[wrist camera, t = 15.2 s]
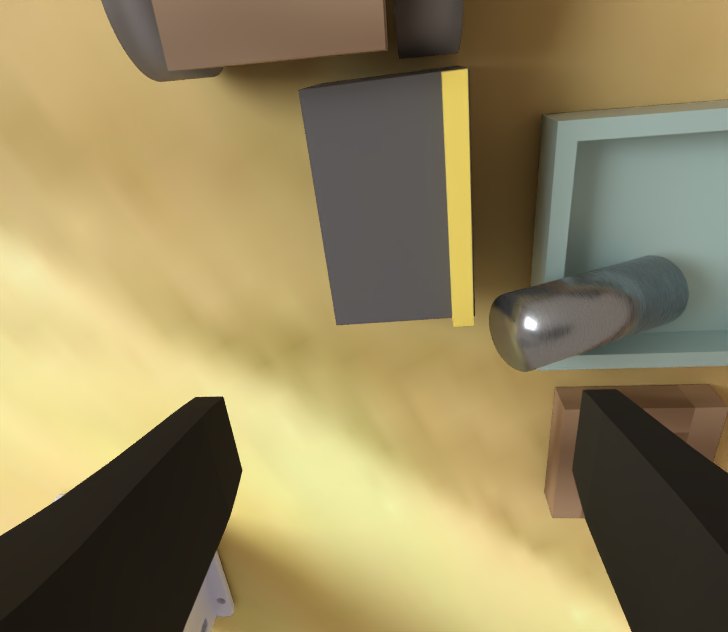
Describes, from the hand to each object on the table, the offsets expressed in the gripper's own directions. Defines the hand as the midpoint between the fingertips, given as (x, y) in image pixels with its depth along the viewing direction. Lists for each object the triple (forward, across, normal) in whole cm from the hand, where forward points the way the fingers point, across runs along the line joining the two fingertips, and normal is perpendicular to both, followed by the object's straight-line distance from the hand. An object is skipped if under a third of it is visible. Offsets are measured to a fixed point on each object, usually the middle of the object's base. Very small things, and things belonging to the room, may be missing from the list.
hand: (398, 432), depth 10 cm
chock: (+10, 0, -3) cm, 11 cm away
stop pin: (+8, -8, +1) cm, 12 cm away
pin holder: (+10, -9, +9) cm, 16 cm away
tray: (+10, -9, 0) cm, 13 cm away
